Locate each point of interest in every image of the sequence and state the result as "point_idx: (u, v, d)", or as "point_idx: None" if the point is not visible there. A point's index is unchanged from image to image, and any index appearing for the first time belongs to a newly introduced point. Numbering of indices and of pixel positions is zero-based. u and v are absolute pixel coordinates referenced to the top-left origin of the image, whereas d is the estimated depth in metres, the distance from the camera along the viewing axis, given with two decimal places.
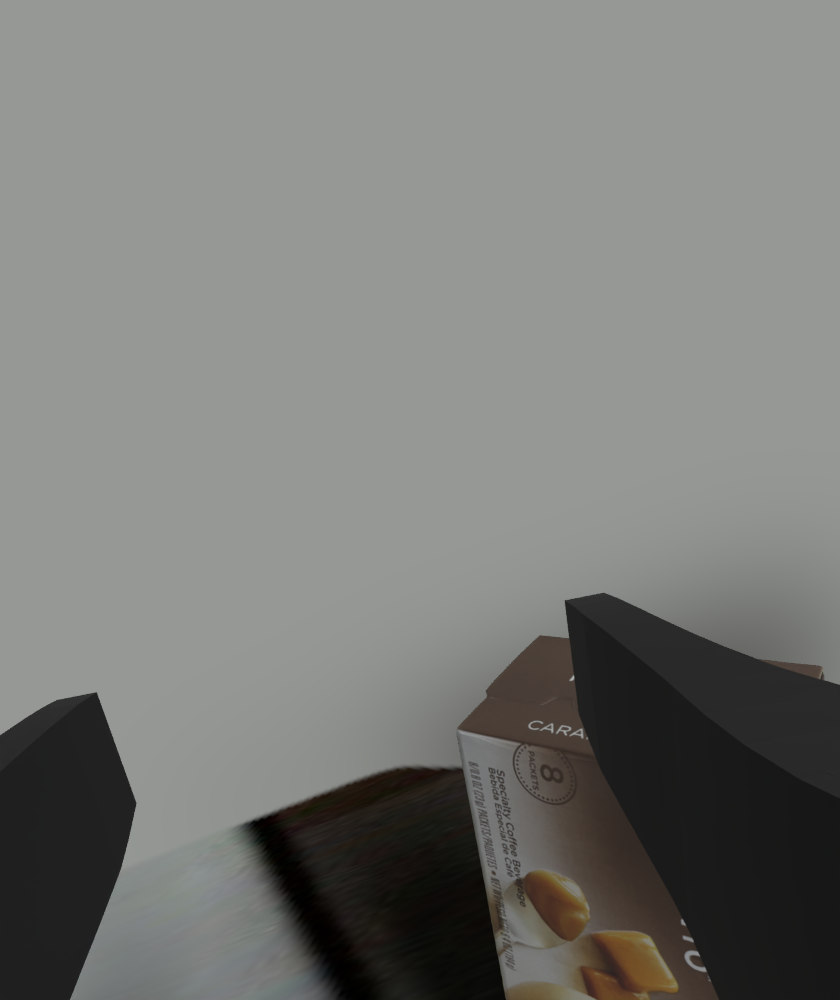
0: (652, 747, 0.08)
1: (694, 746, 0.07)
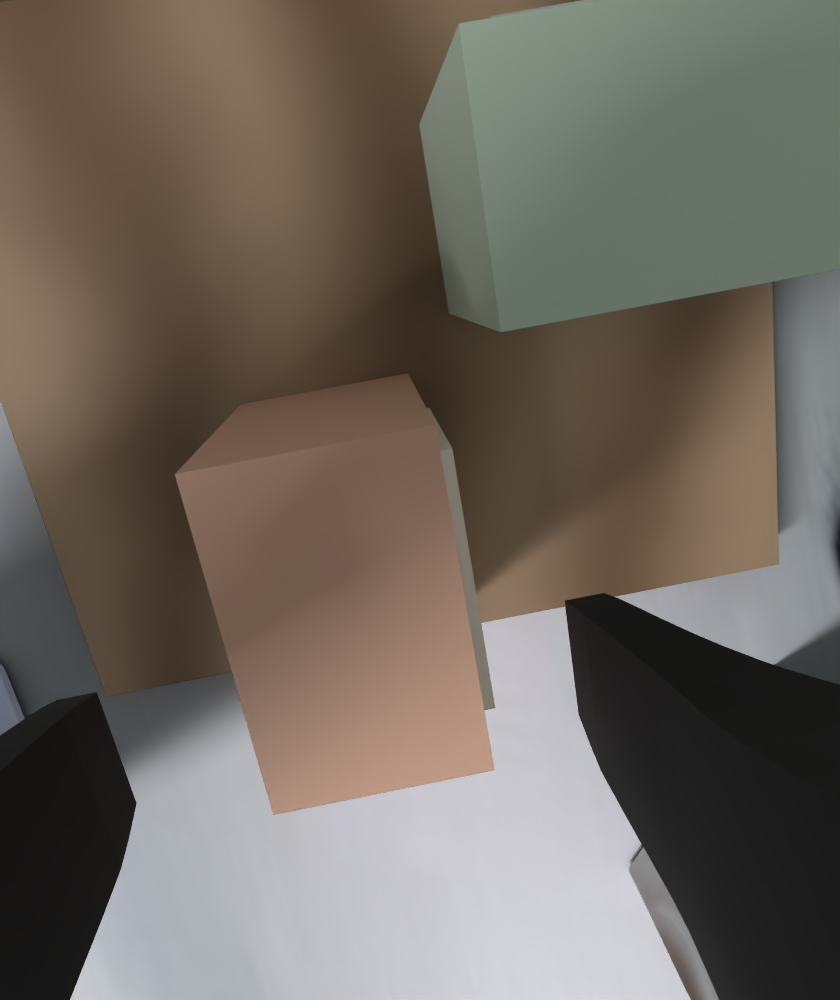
0: (652, 747, 0.08)
1: (694, 746, 0.07)
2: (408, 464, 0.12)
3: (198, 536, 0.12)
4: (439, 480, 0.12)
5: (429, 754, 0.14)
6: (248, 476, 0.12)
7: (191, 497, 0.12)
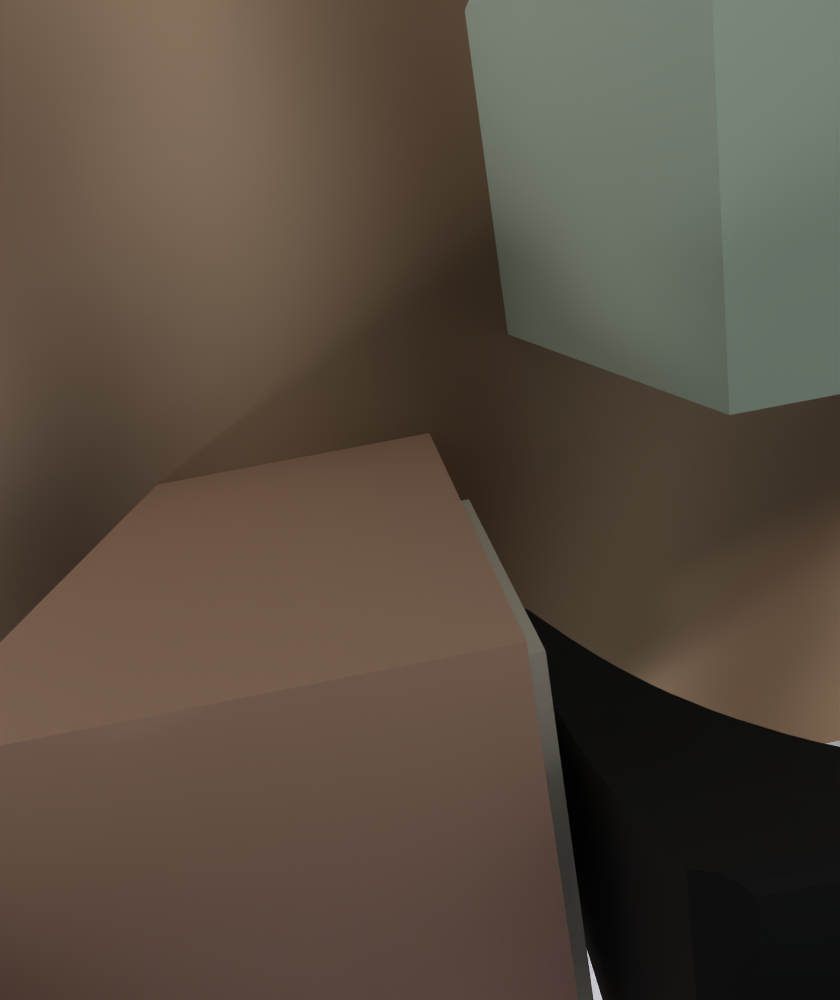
0: None
1: (573, 770, 0.07)
2: (457, 731, 0.05)
3: None
4: (530, 762, 0.05)
5: None
6: (62, 768, 0.05)
7: None
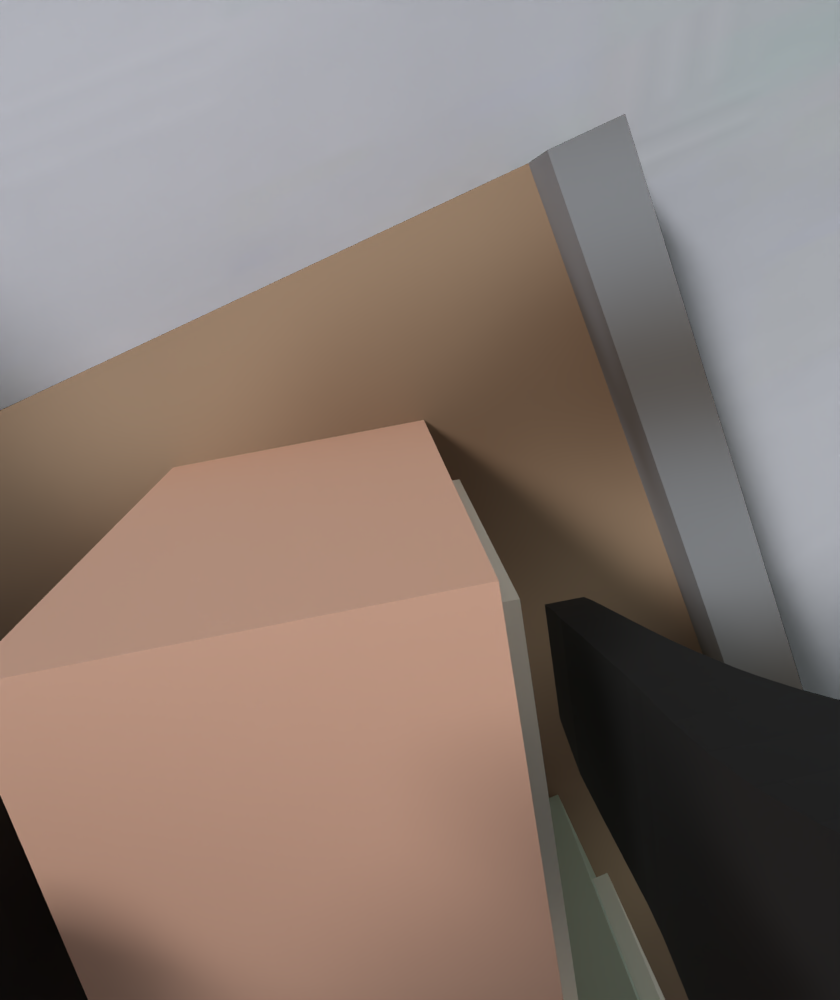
0: (626, 753, 0.08)
1: (663, 752, 0.07)
2: (441, 656, 0.06)
3: (14, 802, 0.06)
4: (503, 685, 0.06)
5: None
6: (110, 686, 0.06)
7: None
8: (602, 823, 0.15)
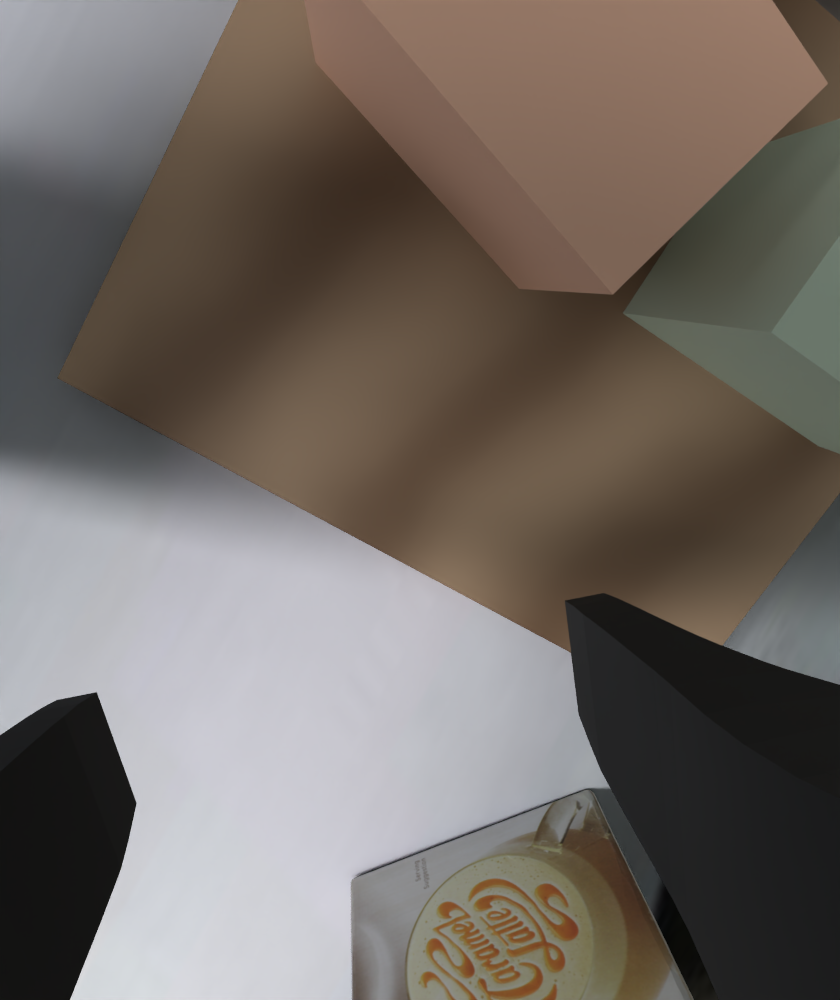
0: (652, 747, 0.08)
1: (694, 746, 0.07)
2: None
3: None
4: None
5: (743, 109, 0.11)
6: None
7: None
8: None
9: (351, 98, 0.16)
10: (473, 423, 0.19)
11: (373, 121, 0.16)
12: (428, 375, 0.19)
